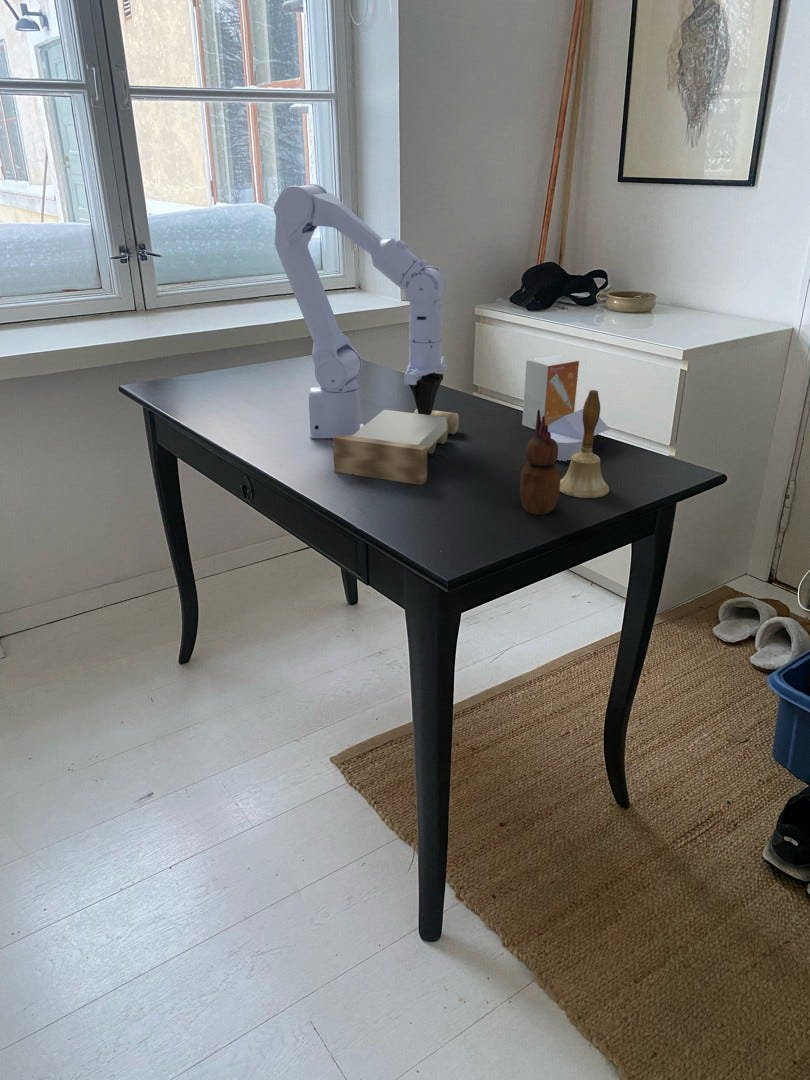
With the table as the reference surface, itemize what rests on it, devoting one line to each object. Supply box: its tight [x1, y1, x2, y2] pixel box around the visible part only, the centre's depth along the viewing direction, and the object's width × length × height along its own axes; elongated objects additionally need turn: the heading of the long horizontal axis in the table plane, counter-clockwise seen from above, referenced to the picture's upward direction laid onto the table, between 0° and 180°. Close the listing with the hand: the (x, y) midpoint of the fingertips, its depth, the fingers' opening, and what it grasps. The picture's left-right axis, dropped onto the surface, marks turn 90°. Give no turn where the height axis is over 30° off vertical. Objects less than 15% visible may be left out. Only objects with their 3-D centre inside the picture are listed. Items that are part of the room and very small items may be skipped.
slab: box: [352, 409, 446, 449], centre depth 141 cm, size 12×14×2 cm
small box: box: [521, 354, 580, 430], centre depth 158 cm, size 8×6×13 cm
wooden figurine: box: [519, 410, 561, 516], centre depth 120 cm, size 7×6×15 cm
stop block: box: [332, 434, 428, 486], centre depth 135 cm, size 16×2×6 cm, turn 67°
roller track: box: [413, 408, 460, 454], centre depth 148 cm, size 8×25×4 cm, turn 157°
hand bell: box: [559, 389, 610, 499], centre depth 127 cm, size 8×8×16 cm
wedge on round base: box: [548, 408, 610, 462], centre depth 146 cm, size 9×7×13 cm
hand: (424, 414), depth 151 cm, fingers closed
